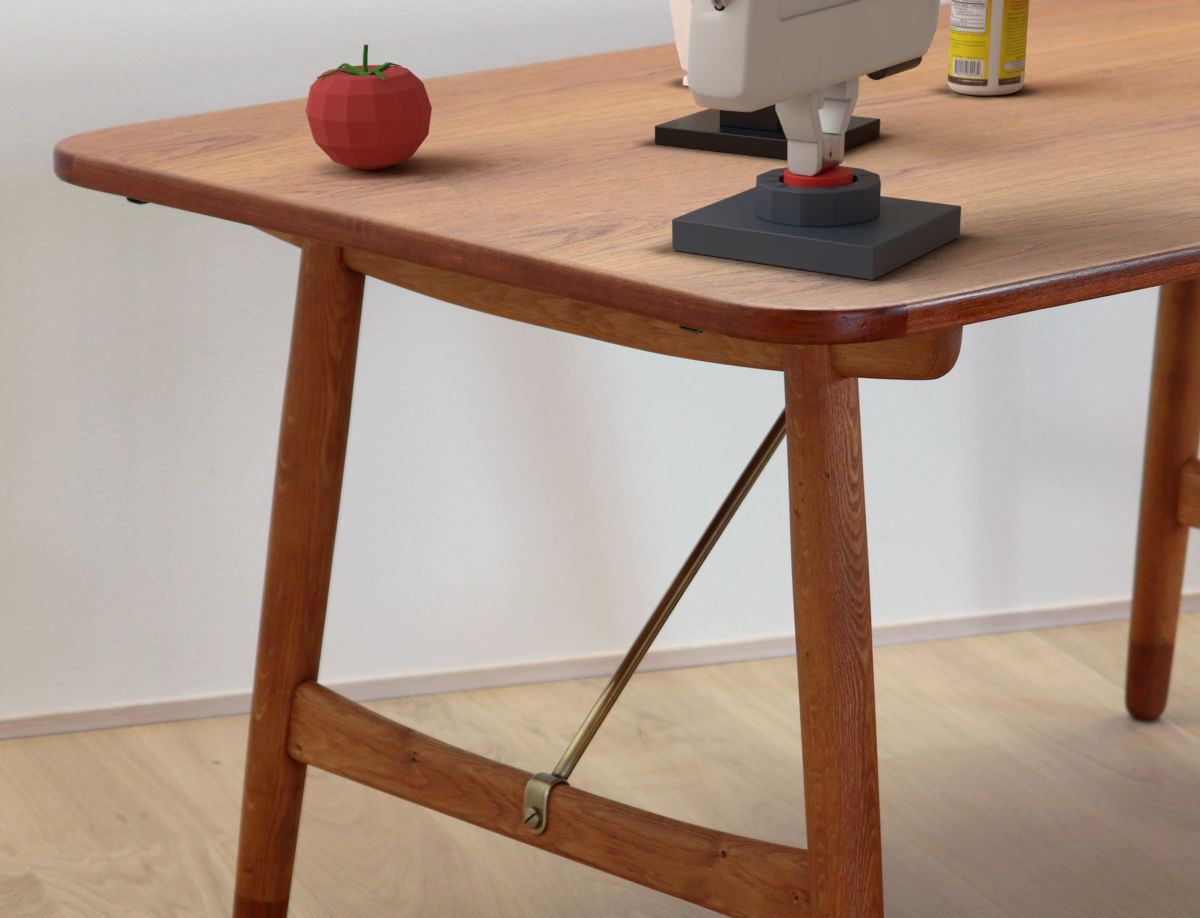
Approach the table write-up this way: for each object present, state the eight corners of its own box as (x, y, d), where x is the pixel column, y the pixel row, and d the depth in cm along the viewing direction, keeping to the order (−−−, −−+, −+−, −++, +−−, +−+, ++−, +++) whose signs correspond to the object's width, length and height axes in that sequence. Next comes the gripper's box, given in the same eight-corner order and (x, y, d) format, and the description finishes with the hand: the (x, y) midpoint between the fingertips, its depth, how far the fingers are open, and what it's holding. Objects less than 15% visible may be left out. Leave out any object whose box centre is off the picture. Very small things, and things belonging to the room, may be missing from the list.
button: (863, 200, 102) (864, 167, 102) (831, 215, 100) (831, 181, 99) (804, 193, 104) (805, 160, 104) (771, 207, 102) (771, 174, 101)
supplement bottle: (1019, 83, 144) (1028, -61, 140) (1027, 97, 139) (1037, -52, 135) (943, 84, 145) (951, -59, 140) (949, 97, 140) (956, -51, 135)
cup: (648, 87, 146) (647, -23, 143) (704, 66, 154) (704, -39, 151) (733, 93, 143) (733, -20, 140) (785, 71, 151) (787, -36, 148)
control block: (960, 237, 103) (963, 171, 102) (873, 280, 96) (875, 211, 95) (767, 211, 110) (767, 149, 108) (671, 250, 102) (671, 184, 101)
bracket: (880, 136, 128) (886, -50, 123) (813, 162, 121) (817, -34, 116) (725, 120, 134) (726, -58, 129) (654, 144, 128) (652, -43, 123)
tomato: (332, 186, 118) (321, 58, 115) (294, 163, 125) (283, 41, 122) (453, 171, 121) (446, 46, 118) (410, 149, 128) (402, 30, 125)
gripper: (771, -87, 86) (766, 218, 92) (969, -123, 101) (953, 141, 107) (654, -93, 90) (656, 203, 95) (862, -127, 105) (853, 130, 110)
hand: (815, 170), depth 101 cm, fingers closed, pressing on button
